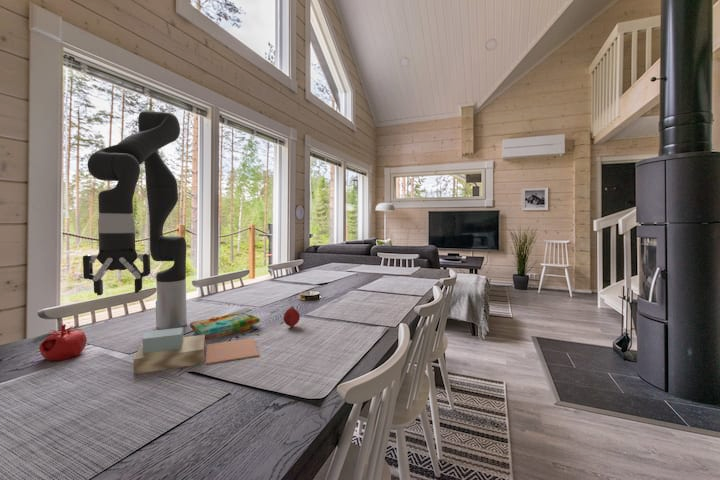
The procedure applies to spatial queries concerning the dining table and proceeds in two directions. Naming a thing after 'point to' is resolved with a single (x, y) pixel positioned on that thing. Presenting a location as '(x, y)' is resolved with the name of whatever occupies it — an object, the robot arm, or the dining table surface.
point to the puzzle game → (223, 325)
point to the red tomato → (63, 344)
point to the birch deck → (171, 356)
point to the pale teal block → (163, 340)
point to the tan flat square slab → (231, 351)
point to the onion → (291, 317)
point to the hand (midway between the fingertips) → (119, 293)
